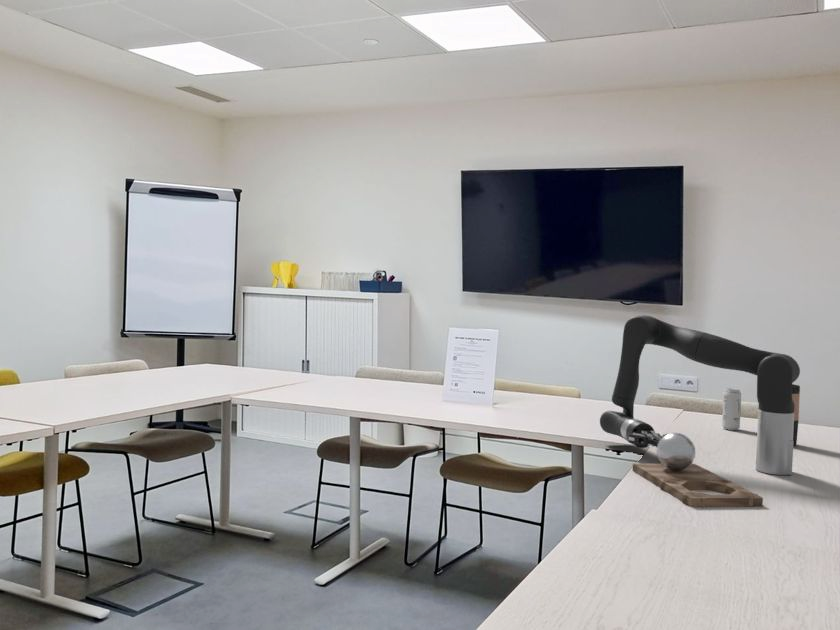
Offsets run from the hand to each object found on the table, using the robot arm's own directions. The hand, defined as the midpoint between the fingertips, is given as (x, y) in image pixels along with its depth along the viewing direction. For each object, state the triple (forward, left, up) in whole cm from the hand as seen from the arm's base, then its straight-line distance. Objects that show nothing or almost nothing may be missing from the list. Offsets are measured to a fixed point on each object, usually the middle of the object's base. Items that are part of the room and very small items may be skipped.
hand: (662, 444), depth 215 cm
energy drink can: (-17, -79, -7) cm, 81 cm away
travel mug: (-34, -59, -7) cm, 69 cm away
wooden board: (-9, +16, -7) cm, 20 cm away
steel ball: (-4, +7, 0) cm, 8 cm away
